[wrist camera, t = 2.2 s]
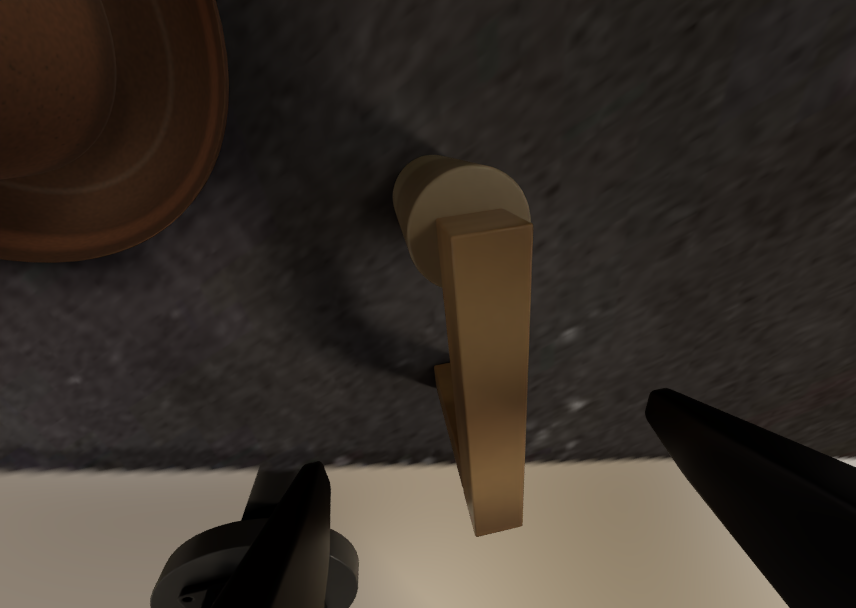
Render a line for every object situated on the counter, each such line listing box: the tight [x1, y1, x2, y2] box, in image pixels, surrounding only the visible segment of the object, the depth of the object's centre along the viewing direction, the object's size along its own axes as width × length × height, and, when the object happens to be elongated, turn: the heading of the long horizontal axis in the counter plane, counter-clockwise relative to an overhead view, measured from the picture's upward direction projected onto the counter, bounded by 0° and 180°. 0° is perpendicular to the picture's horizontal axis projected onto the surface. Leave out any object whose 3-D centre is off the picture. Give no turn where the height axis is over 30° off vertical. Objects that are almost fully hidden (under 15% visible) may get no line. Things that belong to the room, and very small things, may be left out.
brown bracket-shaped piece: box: [393, 155, 533, 537], centre depth 11 cm, size 11×3×7 cm, turn 6°
